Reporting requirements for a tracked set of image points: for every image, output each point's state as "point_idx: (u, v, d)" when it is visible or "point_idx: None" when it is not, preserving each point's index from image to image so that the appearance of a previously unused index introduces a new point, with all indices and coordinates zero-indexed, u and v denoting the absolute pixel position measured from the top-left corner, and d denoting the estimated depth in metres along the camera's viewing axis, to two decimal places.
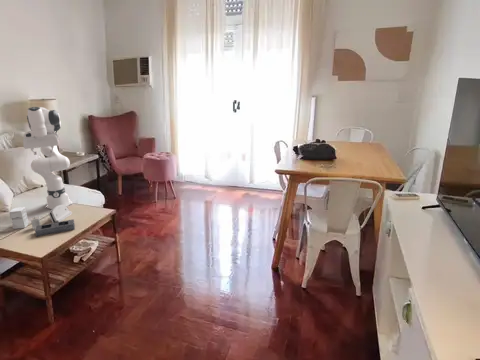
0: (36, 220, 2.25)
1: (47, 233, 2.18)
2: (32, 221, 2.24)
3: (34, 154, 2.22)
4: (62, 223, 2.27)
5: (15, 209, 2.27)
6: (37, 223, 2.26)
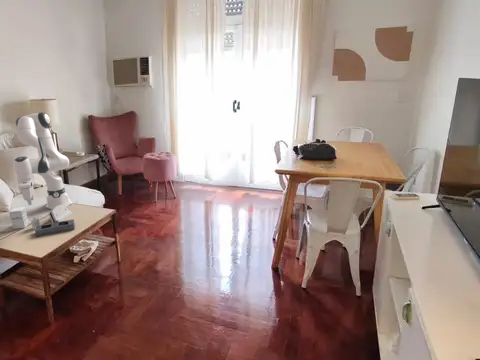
0: (36, 220, 2.25)
1: (47, 233, 2.18)
2: (32, 221, 2.24)
3: (31, 204, 2.18)
4: (62, 223, 2.27)
5: (15, 209, 2.27)
6: (37, 223, 2.26)
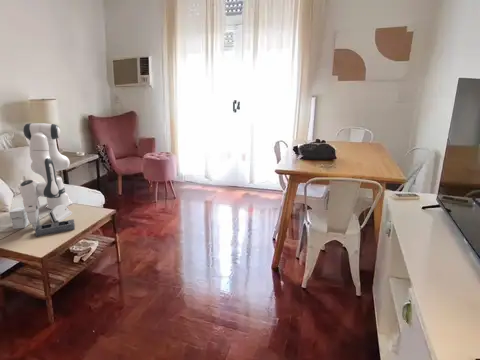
0: None
1: (47, 233, 2.18)
2: None
3: None
4: (62, 223, 2.27)
5: (15, 209, 2.27)
6: (37, 223, 2.26)
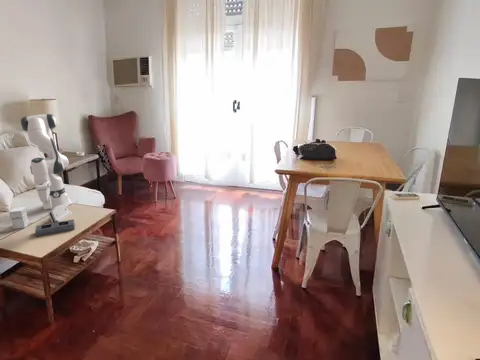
0: None
1: (47, 233, 2.18)
2: None
3: None
4: (62, 223, 2.27)
5: (15, 209, 2.27)
6: (48, 202, 2.19)
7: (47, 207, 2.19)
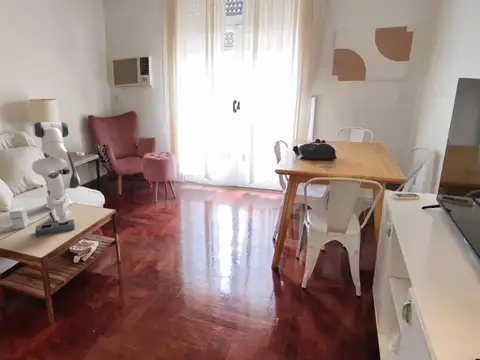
0: None
1: (47, 233, 2.18)
2: None
3: (63, 218, 2.21)
4: (62, 223, 2.27)
5: (15, 209, 2.27)
6: (64, 216, 2.21)
7: (62, 221, 2.22)
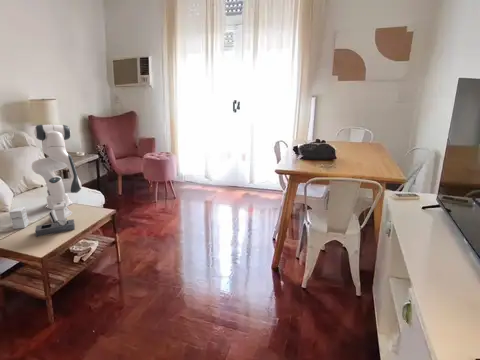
0: (64, 221, 2.22)
1: (47, 233, 2.18)
2: (60, 222, 2.21)
3: None
4: None
5: (15, 209, 2.27)
6: (65, 224, 2.23)
7: None
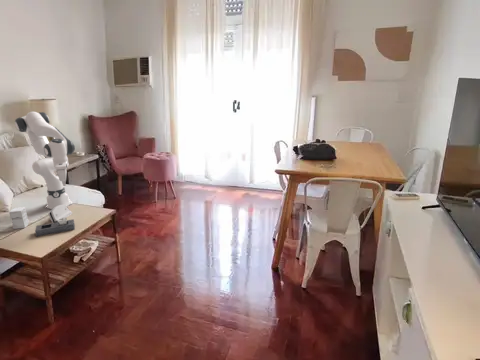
0: (64, 221, 2.22)
1: (47, 233, 2.18)
2: (60, 222, 2.21)
3: (65, 185, 2.25)
4: None
5: (15, 209, 2.27)
6: (65, 224, 2.23)
7: None
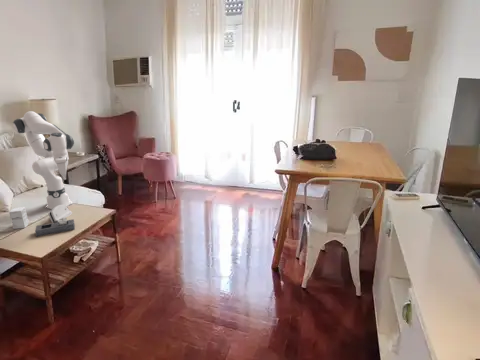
0: (64, 221, 2.22)
1: (47, 233, 2.18)
2: (60, 222, 2.21)
3: None
4: None
5: (15, 209, 2.27)
6: (65, 224, 2.23)
7: None
